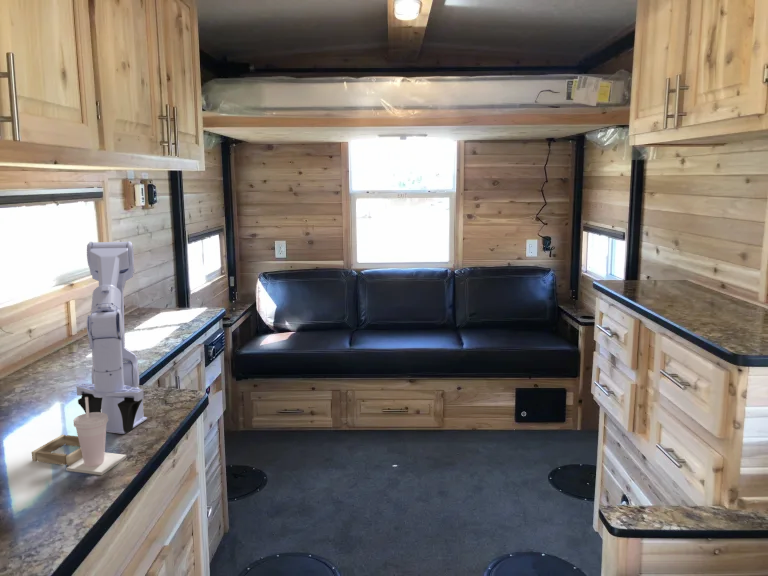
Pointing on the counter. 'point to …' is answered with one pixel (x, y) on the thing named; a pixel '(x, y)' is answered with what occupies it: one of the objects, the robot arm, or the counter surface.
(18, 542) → the counter surface
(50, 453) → the collar
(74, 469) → the coaster pad
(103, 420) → the smoothie
